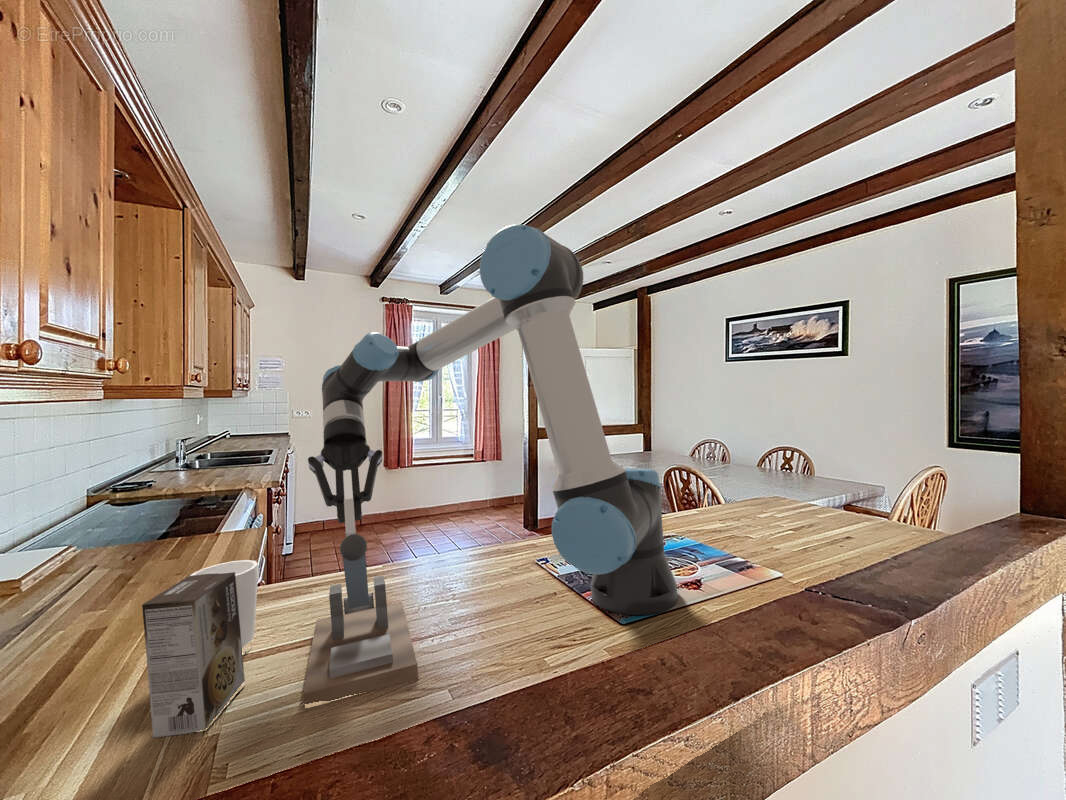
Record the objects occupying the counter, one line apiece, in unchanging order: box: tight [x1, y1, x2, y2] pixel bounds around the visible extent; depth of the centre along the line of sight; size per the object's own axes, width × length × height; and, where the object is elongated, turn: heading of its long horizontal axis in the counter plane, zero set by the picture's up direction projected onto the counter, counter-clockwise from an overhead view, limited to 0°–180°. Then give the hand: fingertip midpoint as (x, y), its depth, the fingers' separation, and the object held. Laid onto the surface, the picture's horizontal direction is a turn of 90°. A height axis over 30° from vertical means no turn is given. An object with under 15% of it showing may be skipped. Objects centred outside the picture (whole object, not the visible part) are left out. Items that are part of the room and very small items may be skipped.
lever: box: [339, 534, 375, 614], centre depth 71 cm, size 4×4×18 cm
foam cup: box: [189, 559, 260, 647], centre depth 75 cm, size 10×9×13 cm
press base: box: [302, 575, 419, 705], centre depth 72 cm, size 22×14×9 cm, turn 21°
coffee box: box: [141, 572, 246, 738], centre depth 60 cm, size 9×6×16 cm
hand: (351, 537), depth 76 cm, fingers closed
